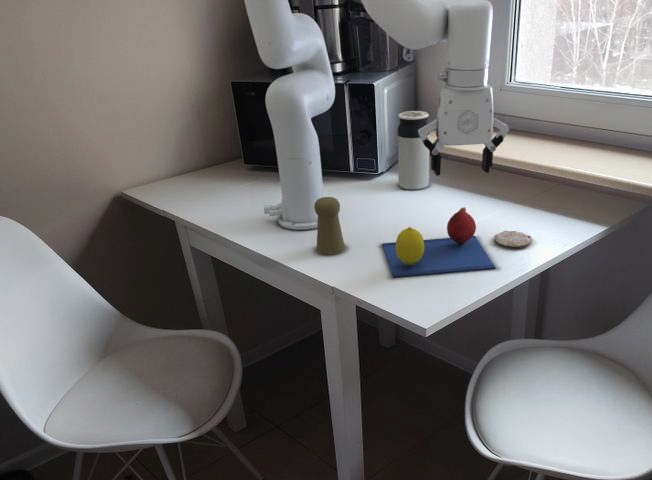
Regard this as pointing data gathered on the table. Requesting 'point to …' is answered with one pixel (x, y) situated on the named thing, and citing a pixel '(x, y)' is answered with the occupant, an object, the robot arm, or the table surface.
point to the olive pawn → (328, 227)
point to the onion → (461, 227)
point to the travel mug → (412, 151)
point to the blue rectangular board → (441, 258)
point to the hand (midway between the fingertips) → (461, 172)
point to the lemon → (409, 246)
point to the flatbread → (513, 238)
